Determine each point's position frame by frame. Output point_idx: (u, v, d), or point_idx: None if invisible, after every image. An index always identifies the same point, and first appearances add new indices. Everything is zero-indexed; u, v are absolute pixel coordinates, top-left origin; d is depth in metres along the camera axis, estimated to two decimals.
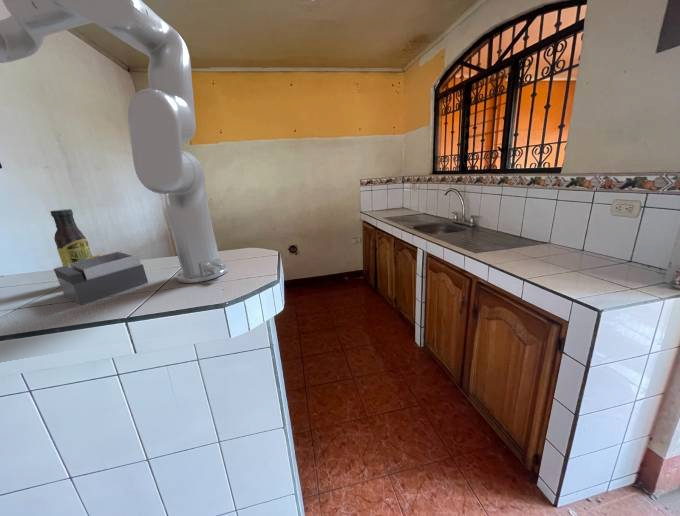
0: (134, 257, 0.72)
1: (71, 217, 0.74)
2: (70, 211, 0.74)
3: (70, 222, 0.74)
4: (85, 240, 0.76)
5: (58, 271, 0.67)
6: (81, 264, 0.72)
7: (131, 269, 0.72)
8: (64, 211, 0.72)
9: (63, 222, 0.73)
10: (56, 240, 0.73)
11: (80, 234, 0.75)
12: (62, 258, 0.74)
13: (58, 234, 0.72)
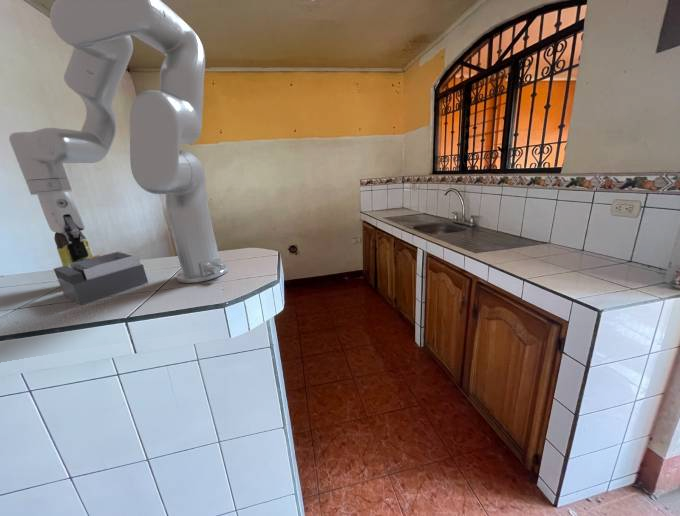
0: (134, 257, 0.72)
1: None
2: None
3: None
4: (85, 240, 0.76)
5: (58, 271, 0.67)
6: (81, 264, 0.72)
7: (131, 269, 0.72)
8: None
9: None
10: (56, 240, 0.73)
11: (80, 234, 0.75)
12: (62, 258, 0.74)
13: (58, 234, 0.72)
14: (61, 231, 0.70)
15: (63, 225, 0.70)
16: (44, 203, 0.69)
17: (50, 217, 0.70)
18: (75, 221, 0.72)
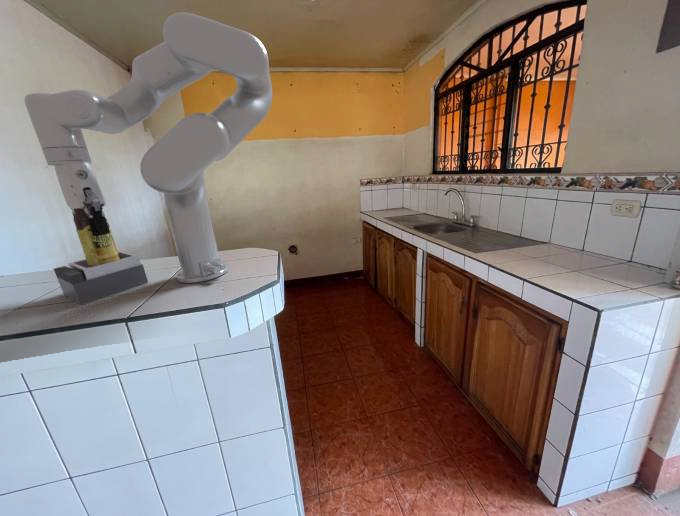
0: (134, 257, 0.72)
1: None
2: None
3: None
4: None
5: (58, 271, 0.67)
6: (81, 264, 0.72)
7: (131, 269, 0.72)
8: None
9: None
10: (76, 221, 0.66)
11: None
12: (82, 241, 0.67)
13: (77, 214, 0.66)
14: (81, 206, 0.64)
15: (83, 199, 0.63)
16: (62, 174, 0.63)
17: (68, 190, 0.64)
18: (94, 192, 0.65)
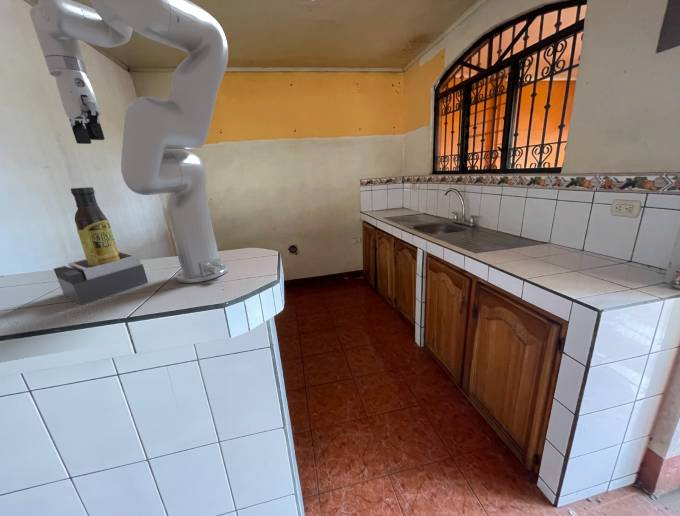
0: (134, 257, 0.72)
1: (93, 196, 0.68)
2: (92, 189, 0.67)
3: (92, 201, 0.67)
4: (107, 222, 0.70)
5: (58, 271, 0.67)
6: (81, 264, 0.72)
7: (131, 269, 0.72)
8: (85, 188, 0.66)
9: (85, 201, 0.66)
10: (77, 221, 0.66)
11: (102, 215, 0.69)
12: (83, 241, 0.67)
13: (78, 214, 0.66)
14: (78, 111, 0.73)
15: (80, 105, 0.72)
16: (62, 82, 0.72)
17: (68, 97, 0.73)
18: (90, 99, 0.74)
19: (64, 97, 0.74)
